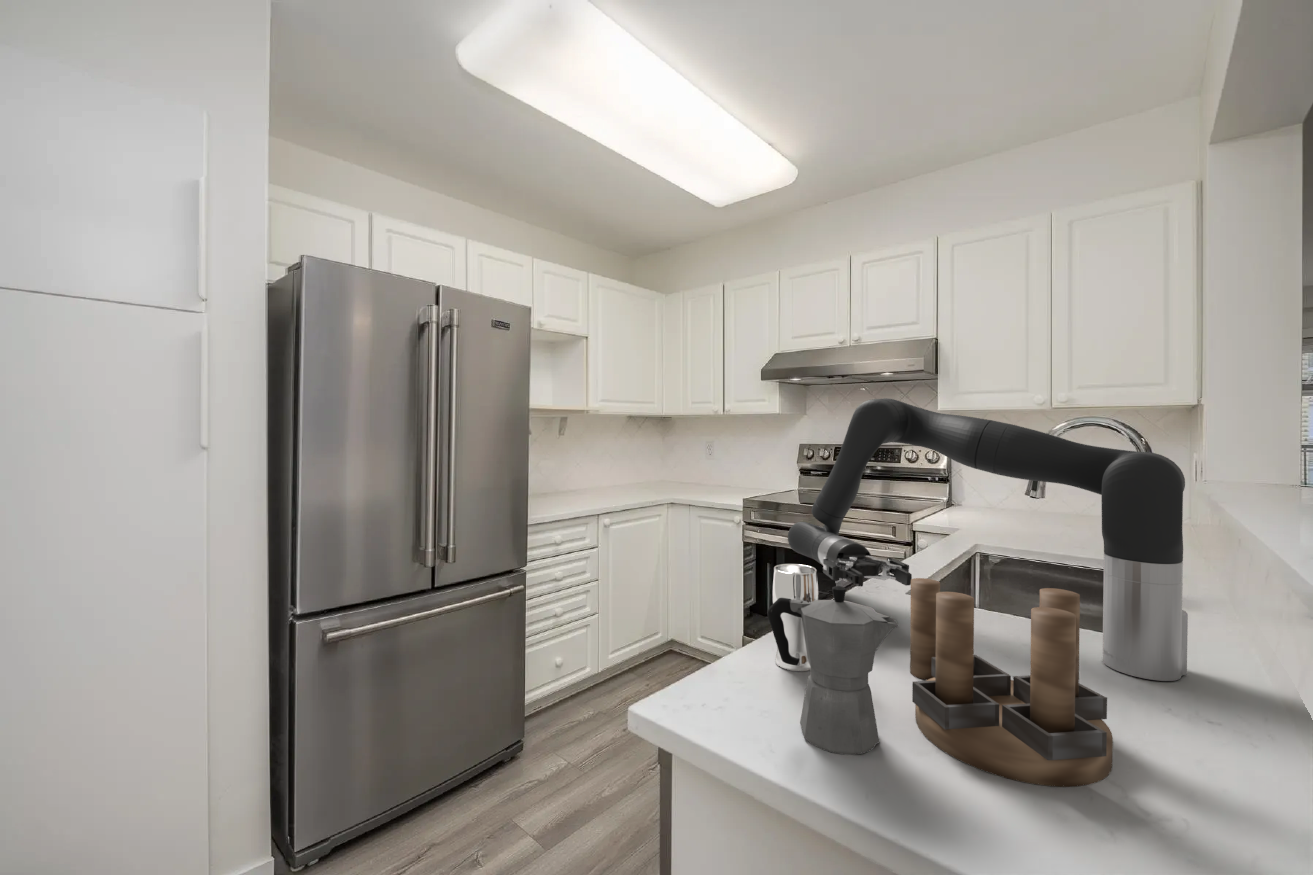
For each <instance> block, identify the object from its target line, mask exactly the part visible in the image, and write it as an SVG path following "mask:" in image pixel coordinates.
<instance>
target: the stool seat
mask: <svg viewBox="0 0 1313 875" xmlns="http://www.w3.org/2000/svg"><path fill="white" fill-rule="evenodd" d="M1080 600H1081V594H1080V593H1077V592H1075V591H1072V590H1066V589H1063V588H1062V589H1061V588H1054V587H1053V588H1052V587H1051V588H1050V587H1044V588H1043V587H1042V588H1040V589H1039V606H1035V607H1032V608H1031V609H1030V669H1029V670H1030V675H1013V676H1012V675H1011V674H1009V673H1008V672H1006V671H1004V670H1002V669H1001V668H999V667H997V666H995V665H994V664H992V663H990V662H989V661H987V660H985V659H983V658H982V657H980V656H978V655H977V654H975V653H974V652H975V650H974V645H975V642H974V641H975V636H974V635H975V634H974V633H975V597H973V596H972V595H969V594H966V593H962V592H956V591H940V592H939V593H937V594H936V657H932V660H931V675H932V676H933V677H934V678H931V679H928V680H920V681H919V680H917V681H916V680H915V681H912V686H911V688H912V694H911V695H912V696H911V698H912V700H911V701H912V703H913V704H914V705H915V706H914V707H915V711H914V714H915V715H914V716H915V724H916V725H917V727H918V729H919V731H920V732H921V734H922V735H923V736H924V737H925V738H926V739H927V740H928V741H929V742H931V744H933V745H934V746H935V747H937V748H938V749H939V750H941V751H943V752H944V753H946V754H948V755H949V756H951V757H952V758H954V759H956V760H958V761H961V762H962V763H964V764H965V765H969V766H971V767H972V768H973V767H974V768H975V769H978V770H980V771H984V772H987V773H990V774H992V775H994V776H995V775H996V776H998V777H1001V778H1005V779H1009V780H1013V781H1017V782H1020V783H1027V784H1031V785H1036V786H1045V787H1057V788H1058V787H1062V788H1066V787H1067V788H1069V787H1070V788H1072V787H1073V788H1075V787H1082V786H1083V787H1084V786H1089V785H1093V784H1097V783H1099V782H1100V781H1103V780H1104V779H1105V778H1107V777H1108V776H1110V774H1111V772H1112V770H1113V757H1114V756H1113V752H1114V751H1113V750H1114V749H1113V747H1114V744H1113V743H1114V742H1113V740H1114V738H1113V734H1112V730H1111V728H1110V727H1109V725H1108V724H1107V723H1106V722H1105V721H1104V720H1107V719H1108V697H1106V696H1104V695H1103V694H1100V693H1098V692H1096V691H1095V690H1093V689H1091V688H1090V687H1087V686H1085V685H1083V684H1082V683H1080V629H1081V628H1080V627H1081V626H1080V621H1081V616H1080V615H1081V614H1080V613H1081V612H1080V610H1081V608H1080V607H1081V601H1080ZM1012 677H1013V679H1012Z"/></svg>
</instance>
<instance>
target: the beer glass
mask: <svg viewBox="0 0 1313 875" xmlns="http://www.w3.org/2000/svg"><path fill="white" fill-rule="evenodd" d="M817 572H818V570H817V569H816V567H814V566H811V565H806V564H800V563H781V564H777V565H775V566H774V567H773V581H772V605H773V604H774V603H775V602H776V601H777V600H778V599H779V598H788V599H791V600H793V599H796V600H803V601H806V602H808V603H809V602H812V601H815V600H819V584H818V573H817ZM781 618H782V620H783V624H784V632H785V635H786V638H787V639H788V643H789V653H790V655H791V656H793V657H795V658H799V659H800V660H799V663H798V665H790V664H787V663H784V662H783V661H782V659H781V656H780V653H779V650H778V647H777V646H776V647H777V648H776V652H775V653H776V654H775V659H774V660H775V661H774V662H775V664H776V665H777V666H778V667H779V666H780V667H779V668H782V669H784V670H786V669H787V670H788V671H792V672H807V671H810V667H811V666H810V664H809V662H808V658H807V651H806V644H805V637H804V630H803V623H802V618H800V617H797V616H793V615H790V614H788V613H782V614H781ZM787 670H786V671H787Z"/></svg>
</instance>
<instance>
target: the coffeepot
mask: <svg viewBox="0 0 1313 875" xmlns="http://www.w3.org/2000/svg"><path fill="white" fill-rule="evenodd" d="M831 590H832V595H833V596H832V597H833V599H818V600H815V601H812V602H809V603H808V602H806V601H803V600H796V599H793V600H791V599H788V598H779V599H778V600H777V601H776V602H775V603H774V604H773V603H772V605H770V606H769V607H768V609H767V612H766V613H767V619H768V621H769V624H770V628H771V631H772V633H773V637H774V639H775V643H776V647H778V650H779V653H780V656H781V659H782V661H783V662H784V663H787V664H790V665H798V663H799V660H800V659H799V658H795V657H793V656H791V655H790V653H789V643H788V639H787V638H786V635H785V632H784V624H783V620H782V618H781V614H782V613H788V614H790V615H793V616H797V617H800V618H802V623H803V630H804V637H805V644H806V651H807V658H808V662H809V664H810V666H811V667H810V670H809V671H810V672H809V673H810V674H809V675H808V676H807V682H806V687H805V693H804V698H803V704H802V709H801V716H800V721H799V724H800V727H801V734H802V735H803V737H804V739H805V740H806V741H808V742H809V743H810V744H811V745H813V746H815V747H817V748H819V749H821V750H823V751H826V752H829V753H833V754H837V755H847V756H848V755H850V756H852V755H853V756H854V755H861V754H865V753H868V752H870V751H872V750H873V749H875V747H876V745H877V744H879V743H880V738H879V737H880V736H879V733H878V726H877V719H876V714H875V708H874V703H873V702H874V700H873V695H872V690H871V687H870V684H869V673H870V672H872V671H873V666H874V661H875V656H876V652H877V650H878V648H879V647H880V645H881V644H882V642H883V641H884V640H885V638H886V637H887V636H888V635H889V634H890V633H891V631H892V630H893V629H895V628H898V627H899V624H898V622H897V620H896V619H894V618H893V617H891V616H889V615H885V614H882V613H879V612H876V610H875V609H874V608H873V607H871V606H867V605H864V604H861V603H860V604H859V603H855V602H851V601H849V600H845V596H846V591H847V588H846V587H844V586H841V585H836V586H832V587H831Z"/></svg>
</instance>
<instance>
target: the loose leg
mask: <svg viewBox="0 0 1313 875" xmlns="http://www.w3.org/2000/svg"><path fill="white" fill-rule="evenodd" d="M939 592H941V582H940V581H938V580H936V579H932V578H925V577H922V578H921V577H915V578H912V579H911V585H910V626H909V627H910V628H909V629H910V634H909V636H910V641H909V642H910V644H909V646H910V650H909V652H910V653H909V655H910V656H909V658H910V659H909V662H910V663H909V672H910V675H912V676H913V677H914V678H915V677H916V678H917V679H921V680H923V681H926V680H928V679H931V678H934V677H933V676H932V675H931V660H932V657H936V594H937V593H939Z"/></svg>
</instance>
